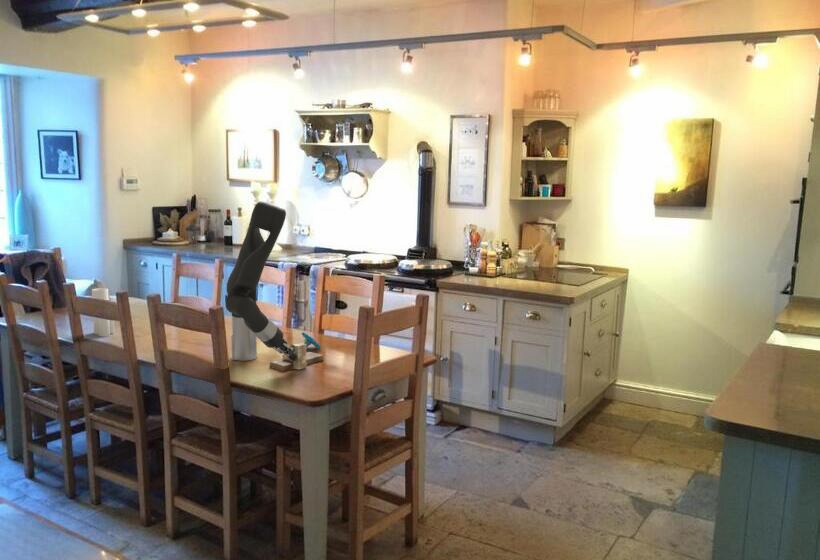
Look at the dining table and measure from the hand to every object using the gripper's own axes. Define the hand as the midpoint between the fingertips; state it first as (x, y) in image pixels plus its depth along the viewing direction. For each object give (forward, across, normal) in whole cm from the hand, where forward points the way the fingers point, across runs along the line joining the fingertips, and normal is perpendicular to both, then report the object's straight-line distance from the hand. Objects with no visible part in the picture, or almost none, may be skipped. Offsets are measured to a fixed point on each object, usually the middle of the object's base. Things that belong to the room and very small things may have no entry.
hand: (294, 358), depth 246 cm
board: (+8, +6, -1) cm, 10 cm away
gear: (+21, +18, -14) cm, 31 cm away
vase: (-10, +106, +17) cm, 108 cm away
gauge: (+5, +3, +1) cm, 6 cm away
